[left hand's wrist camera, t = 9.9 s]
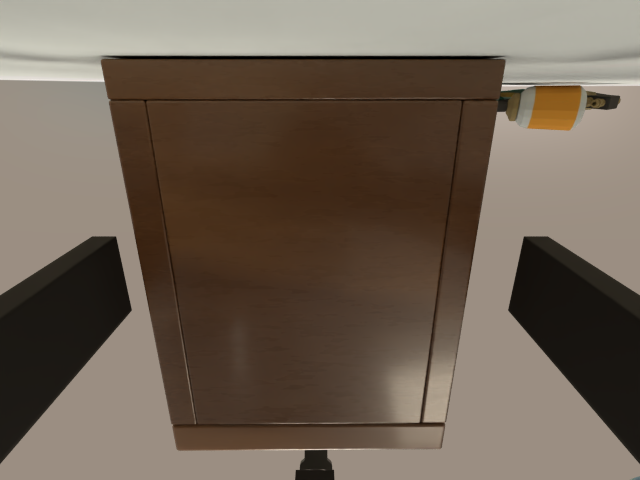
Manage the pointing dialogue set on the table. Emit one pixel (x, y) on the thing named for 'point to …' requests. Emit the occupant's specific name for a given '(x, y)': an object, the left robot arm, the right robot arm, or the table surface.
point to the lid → (308, 436)
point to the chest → (305, 229)
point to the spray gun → (552, 106)
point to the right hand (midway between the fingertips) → (315, 400)
